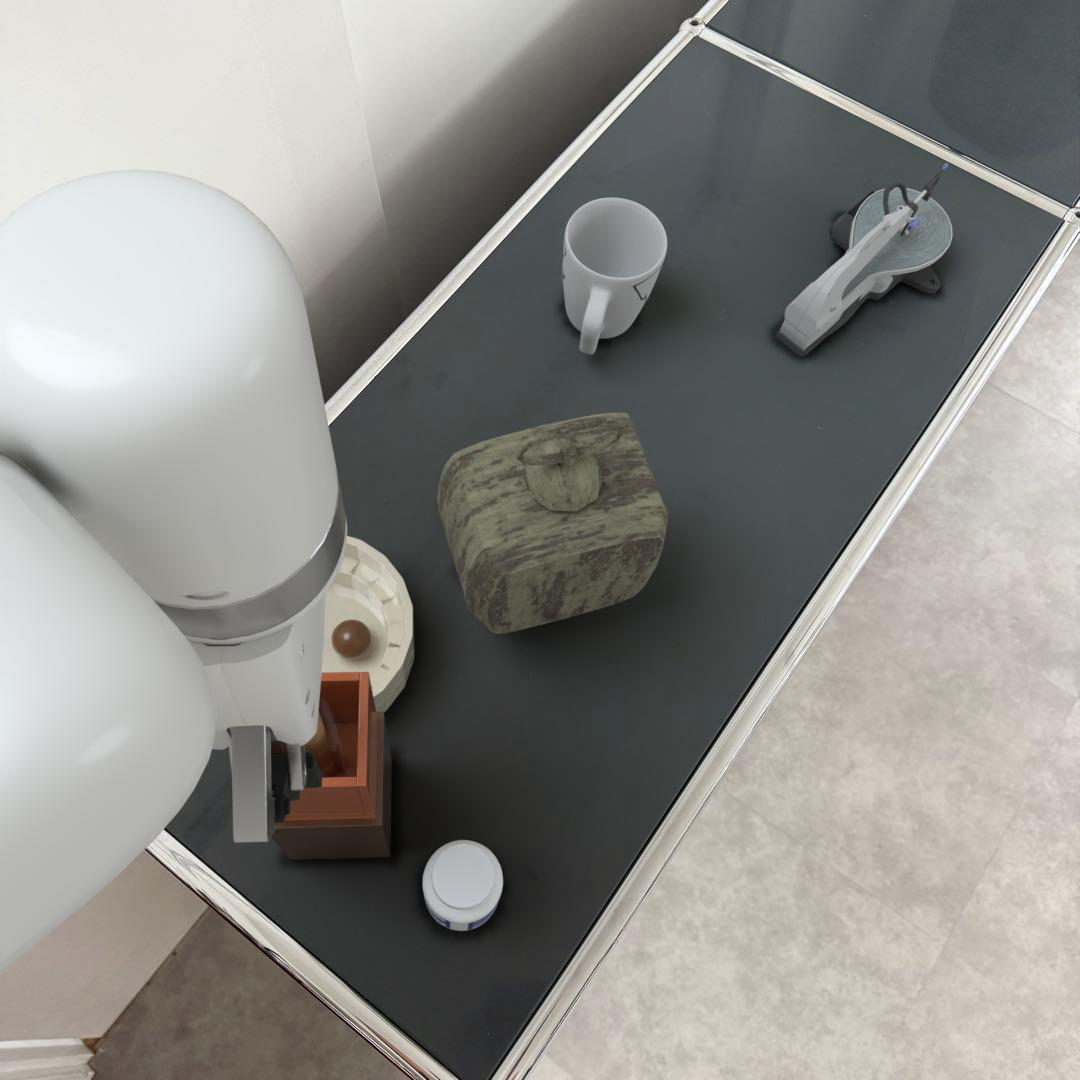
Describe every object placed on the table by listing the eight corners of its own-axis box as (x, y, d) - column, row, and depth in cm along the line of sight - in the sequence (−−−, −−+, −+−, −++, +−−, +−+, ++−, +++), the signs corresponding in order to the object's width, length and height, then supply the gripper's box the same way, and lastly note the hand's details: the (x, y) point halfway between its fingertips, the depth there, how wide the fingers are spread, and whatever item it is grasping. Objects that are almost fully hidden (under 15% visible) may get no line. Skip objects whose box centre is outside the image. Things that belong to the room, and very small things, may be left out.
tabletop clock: (608, 514, 90) (665, 340, 68) (644, 614, 87) (718, 466, 64) (436, 557, 87) (436, 390, 65) (468, 662, 84) (479, 525, 61)
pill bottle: (499, 853, 79) (506, 832, 70) (498, 931, 76) (505, 919, 68) (424, 852, 78) (423, 831, 70) (421, 931, 76) (419, 918, 68)
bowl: (217, 743, 80) (201, 721, 75) (231, 563, 86) (217, 531, 80) (413, 739, 81) (412, 718, 76) (414, 562, 87) (413, 530, 82)
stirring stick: (343, 779, 66) (308, 682, 48) (303, 779, 66) (252, 682, 48) (344, 752, 67) (310, 647, 49) (304, 753, 67) (255, 647, 49)
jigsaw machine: (879, 318, 88) (770, 232, 90) (836, 388, 97) (738, 309, 100) (1016, 187, 95) (911, 111, 97) (963, 266, 104) (868, 194, 107)
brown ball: (332, 665, 83) (328, 652, 80) (333, 627, 84) (330, 613, 81) (372, 664, 83) (370, 652, 80) (373, 627, 84) (371, 613, 81)
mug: (627, 389, 95) (647, 321, 86) (533, 363, 96) (543, 293, 87) (655, 286, 100) (677, 212, 91) (566, 262, 100) (579, 185, 91)
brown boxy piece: (289, 860, 77) (236, 796, 57) (294, 760, 80) (245, 666, 59) (390, 857, 78) (373, 793, 57) (391, 758, 81) (376, 664, 60)
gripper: (130, 289, 38) (222, 504, 53) (63, 797, 31) (191, 874, 47) (351, 292, 39) (378, 504, 54) (334, 790, 32) (370, 868, 47)
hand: (291, 675), depth 50 cm, fingers open, 9 cm apart
